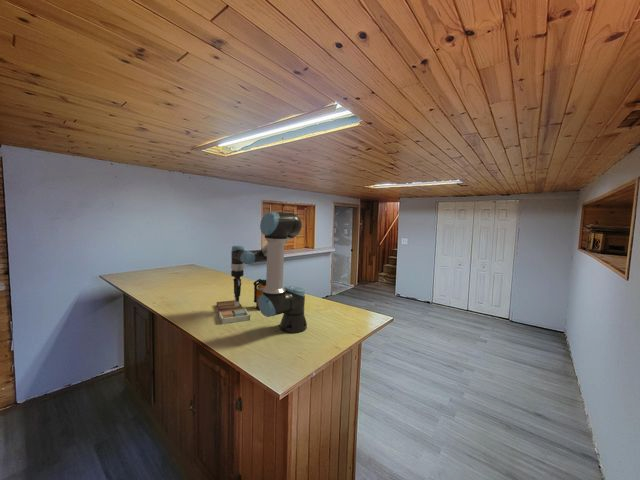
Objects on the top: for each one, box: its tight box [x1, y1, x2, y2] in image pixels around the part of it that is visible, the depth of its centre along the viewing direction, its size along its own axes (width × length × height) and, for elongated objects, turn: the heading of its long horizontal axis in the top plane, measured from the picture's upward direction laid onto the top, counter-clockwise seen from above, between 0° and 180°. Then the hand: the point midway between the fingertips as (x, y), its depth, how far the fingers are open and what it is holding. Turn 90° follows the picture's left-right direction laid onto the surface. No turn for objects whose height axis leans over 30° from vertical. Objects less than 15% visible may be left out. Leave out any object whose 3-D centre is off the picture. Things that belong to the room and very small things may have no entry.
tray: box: [218, 308, 251, 325], centre depth 162 cm, size 13×16×3 cm
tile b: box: [234, 310, 245, 317], centre depth 166 cm, size 6×6×2 cm
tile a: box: [221, 311, 233, 318], centre depth 163 cm, size 6×6×2 cm
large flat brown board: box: [216, 299, 245, 314], centre depth 178 cm, size 22×14×2 cm, turn 27°
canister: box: [253, 278, 266, 310], centre depth 182 cm, size 9×11×20 cm
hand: (236, 305), depth 172 cm, fingers closed
